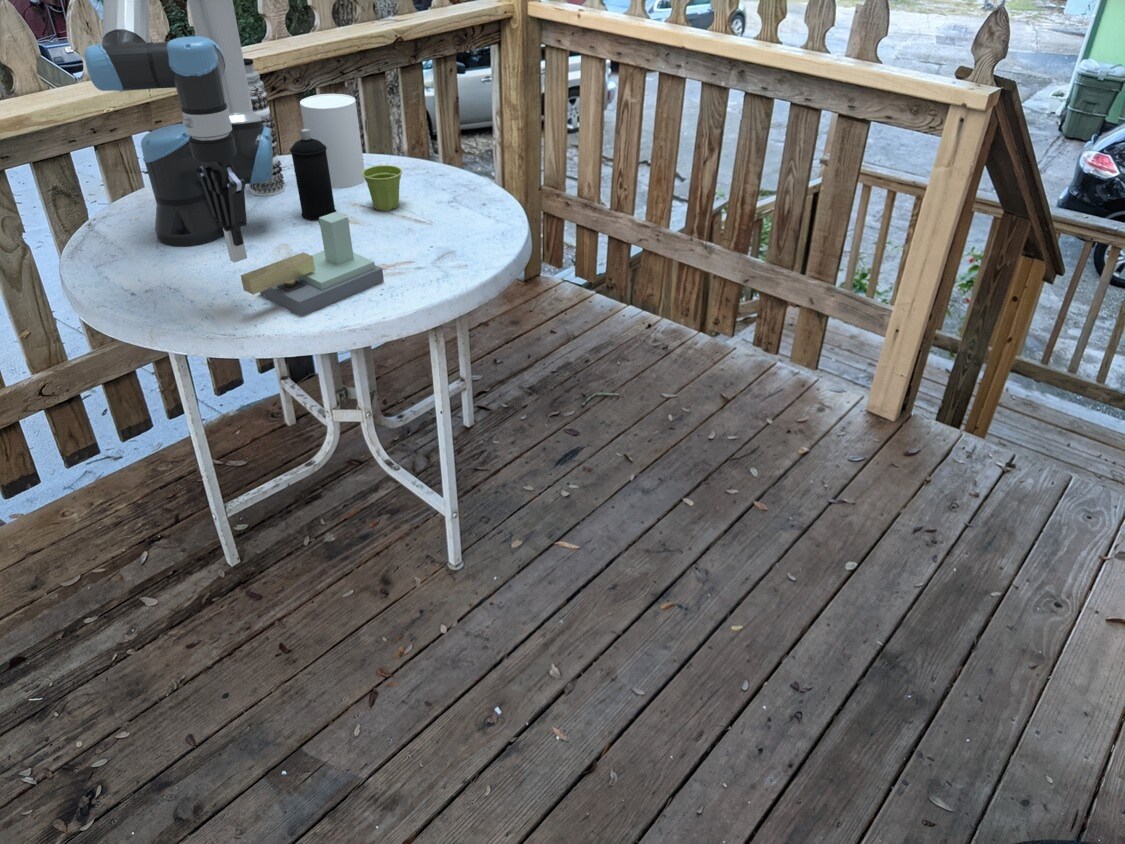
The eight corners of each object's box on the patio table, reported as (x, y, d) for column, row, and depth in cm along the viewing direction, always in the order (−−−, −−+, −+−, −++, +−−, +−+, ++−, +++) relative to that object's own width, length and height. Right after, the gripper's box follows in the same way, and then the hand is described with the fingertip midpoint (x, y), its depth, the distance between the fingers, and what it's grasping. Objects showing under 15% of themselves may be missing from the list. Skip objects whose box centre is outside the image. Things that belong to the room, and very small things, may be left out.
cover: (286, 272, 172) (276, 222, 166) (338, 252, 180) (331, 204, 174) (322, 290, 166) (313, 239, 159) (375, 268, 174) (368, 219, 167)
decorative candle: (241, 191, 216) (219, 89, 202) (270, 181, 223) (251, 81, 208) (265, 199, 212) (244, 95, 198) (294, 188, 218) (276, 87, 204)
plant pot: (402, 214, 205) (398, 178, 200) (363, 213, 205) (358, 178, 200) (408, 199, 213) (405, 165, 208) (371, 199, 213) (366, 164, 208)
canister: (369, 170, 230) (359, 93, 218) (360, 188, 219) (350, 108, 207) (319, 170, 230) (306, 93, 218) (307, 188, 219) (294, 108, 207)
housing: (260, 294, 170) (257, 279, 169) (341, 262, 183) (339, 248, 181) (301, 316, 163) (298, 301, 161) (383, 281, 175) (382, 267, 174)
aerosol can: (338, 218, 202) (325, 133, 191) (302, 222, 200) (287, 136, 189) (335, 206, 209) (322, 123, 197) (300, 209, 207) (285, 126, 195)
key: (245, 298, 162) (240, 275, 159) (307, 274, 171) (303, 252, 168) (254, 302, 160) (249, 280, 158) (316, 278, 169) (312, 256, 166)
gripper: (171, 131, 151) (202, 256, 164) (210, 146, 144) (240, 275, 157) (210, 122, 155) (237, 244, 169) (249, 136, 148) (275, 262, 162)
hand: (238, 259), depth 163 cm, fingers closed
